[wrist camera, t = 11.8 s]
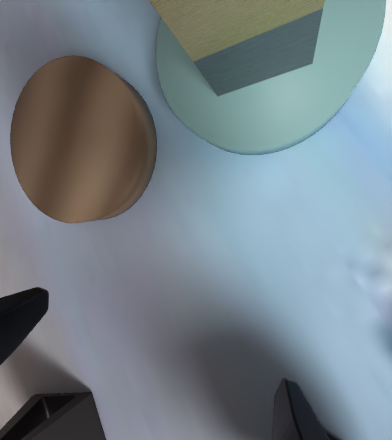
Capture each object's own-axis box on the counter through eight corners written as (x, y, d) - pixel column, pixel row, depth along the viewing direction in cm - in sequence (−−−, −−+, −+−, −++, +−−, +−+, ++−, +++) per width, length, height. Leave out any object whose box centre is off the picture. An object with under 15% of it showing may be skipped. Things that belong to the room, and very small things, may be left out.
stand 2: (415, -24, 14) (446, -76, 12) (301, 184, 18) (304, 182, 15) (217, -63, 18) (204, -111, 15) (150, 118, 21) (129, 106, 18)
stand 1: (180, 102, 20) (162, 87, 17) (124, 244, 23) (102, 251, 20) (62, 54, 23) (31, 35, 20) (27, 184, 26) (-3, 183, 24)
